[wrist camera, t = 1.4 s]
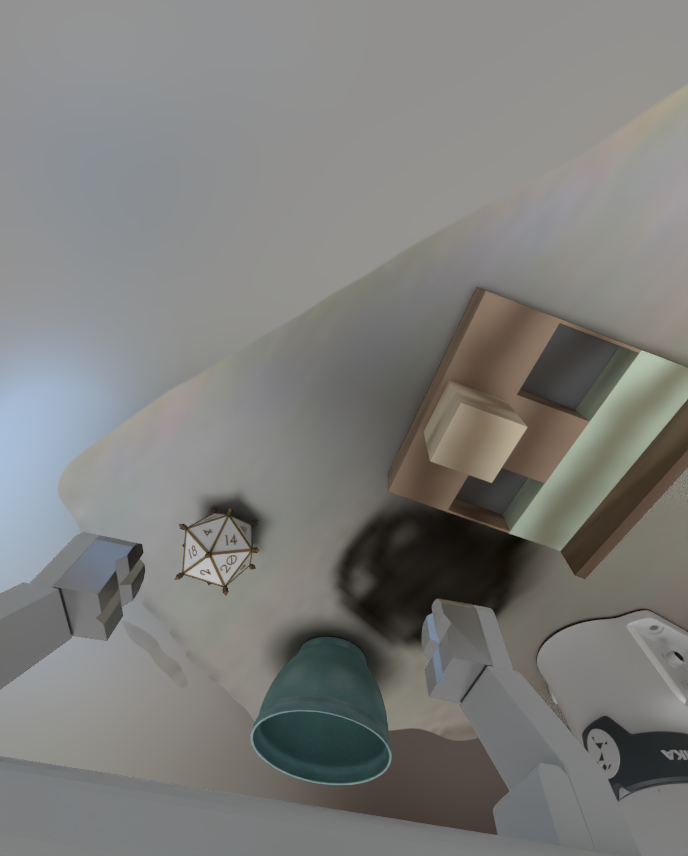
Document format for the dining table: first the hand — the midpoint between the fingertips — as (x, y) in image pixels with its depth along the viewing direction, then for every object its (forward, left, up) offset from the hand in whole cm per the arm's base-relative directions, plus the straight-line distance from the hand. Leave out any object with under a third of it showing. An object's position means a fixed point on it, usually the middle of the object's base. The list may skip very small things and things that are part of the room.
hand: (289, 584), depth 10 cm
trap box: (-17, +1, -25) cm, 30 cm away
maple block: (-10, +1, -22) cm, 24 cm away
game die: (+7, +23, -25) cm, 35 cm away
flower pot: (-11, +41, -25) cm, 50 cm away
